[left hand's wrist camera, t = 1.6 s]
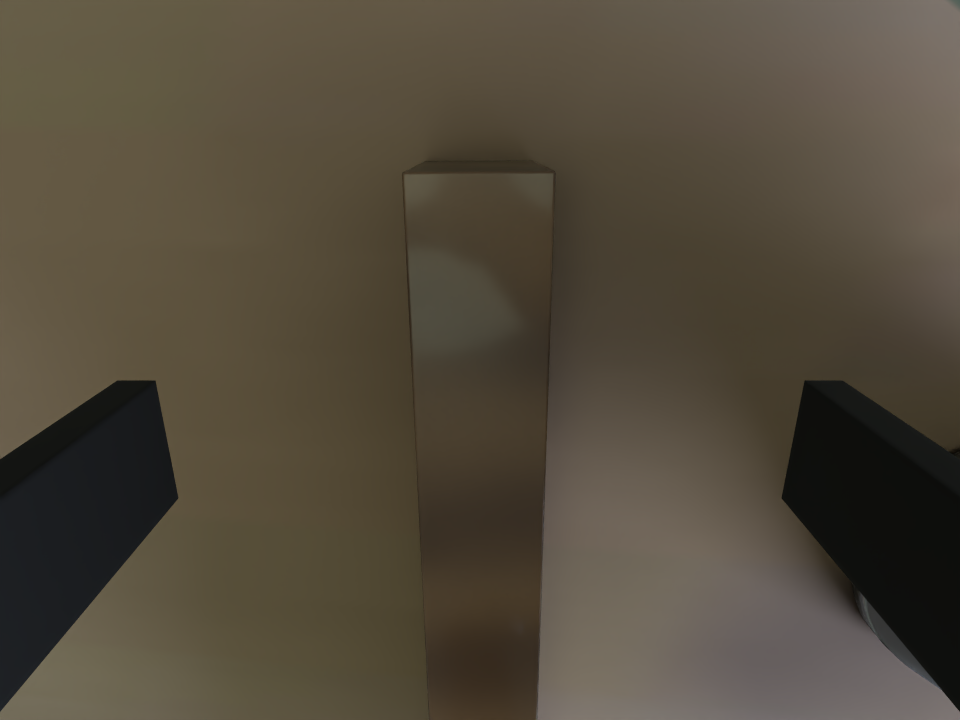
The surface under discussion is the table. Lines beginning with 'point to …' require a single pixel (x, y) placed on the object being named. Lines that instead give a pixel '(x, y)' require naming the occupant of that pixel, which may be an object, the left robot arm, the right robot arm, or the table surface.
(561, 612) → the table surface
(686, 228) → the table surface
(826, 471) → the left robot arm
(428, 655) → the block
